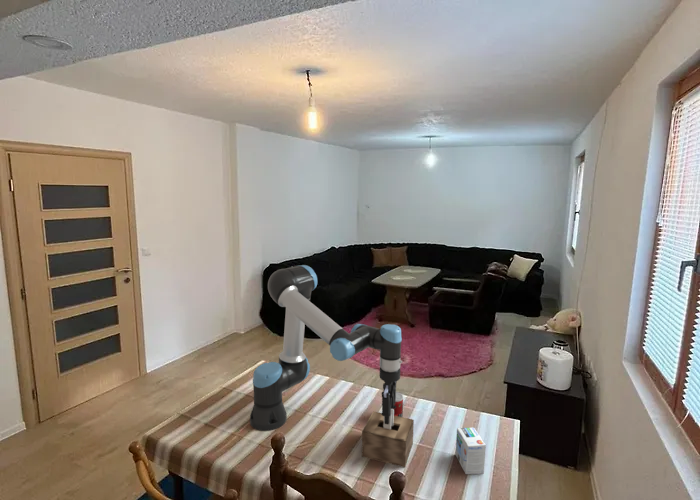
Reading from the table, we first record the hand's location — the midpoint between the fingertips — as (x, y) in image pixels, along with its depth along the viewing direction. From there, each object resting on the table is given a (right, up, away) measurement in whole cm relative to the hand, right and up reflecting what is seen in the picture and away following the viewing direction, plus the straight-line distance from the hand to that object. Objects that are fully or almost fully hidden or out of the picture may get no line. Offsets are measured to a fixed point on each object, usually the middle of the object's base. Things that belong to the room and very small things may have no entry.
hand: (388, 427), depth 145 cm
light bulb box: (+28, -11, -6) cm, 31 cm away
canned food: (+4, -7, +21) cm, 22 cm away
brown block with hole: (0, -9, +1) cm, 9 cm away
